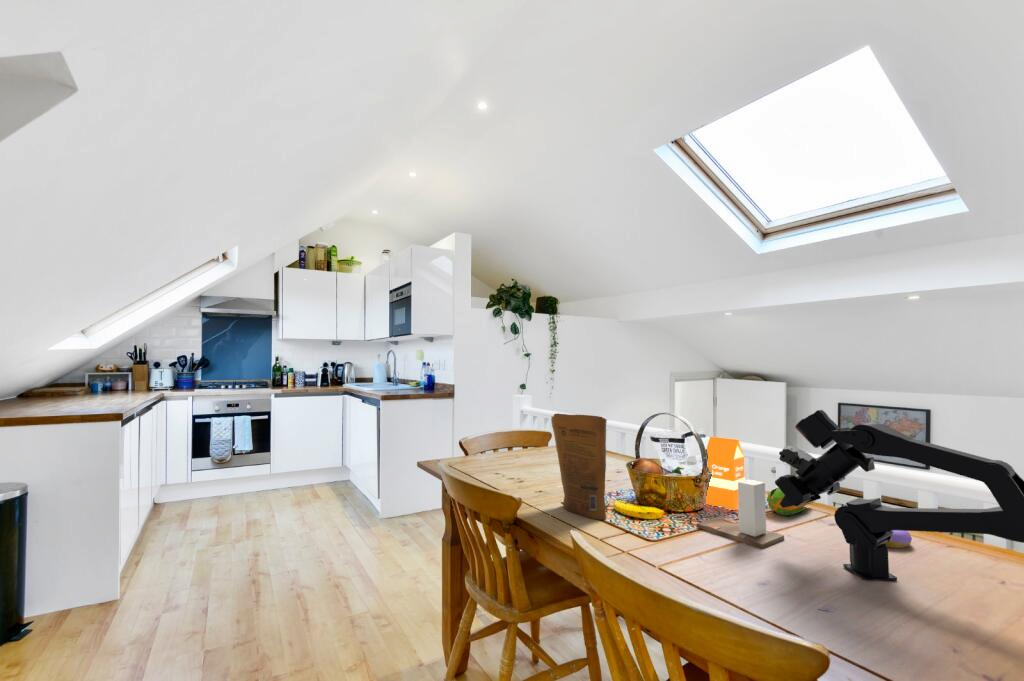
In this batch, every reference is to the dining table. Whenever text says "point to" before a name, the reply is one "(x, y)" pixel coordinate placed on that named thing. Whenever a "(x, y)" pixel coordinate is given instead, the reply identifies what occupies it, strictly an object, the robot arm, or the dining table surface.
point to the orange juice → (724, 472)
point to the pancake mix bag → (582, 462)
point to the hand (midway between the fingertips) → (781, 505)
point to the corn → (774, 505)
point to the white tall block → (752, 507)
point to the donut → (899, 539)
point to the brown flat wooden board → (732, 531)
